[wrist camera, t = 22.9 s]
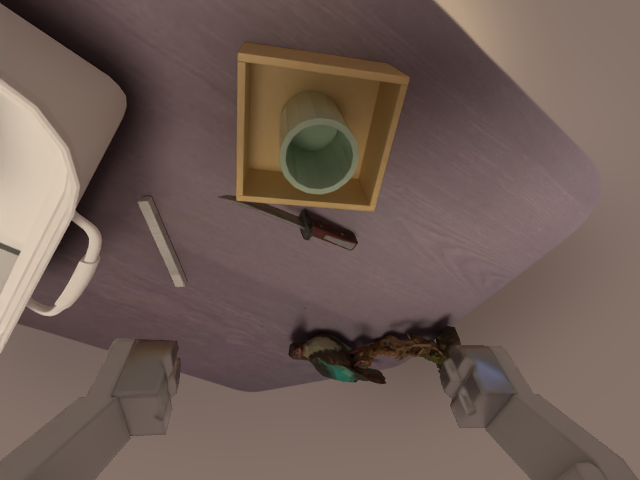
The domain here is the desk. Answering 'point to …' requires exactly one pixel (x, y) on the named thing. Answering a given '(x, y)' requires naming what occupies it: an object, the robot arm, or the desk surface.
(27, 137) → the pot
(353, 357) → the sculpture
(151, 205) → the gray square bar
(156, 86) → the desk surface
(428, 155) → the desk surface
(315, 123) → the tumbler
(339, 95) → the tote
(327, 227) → the knife
